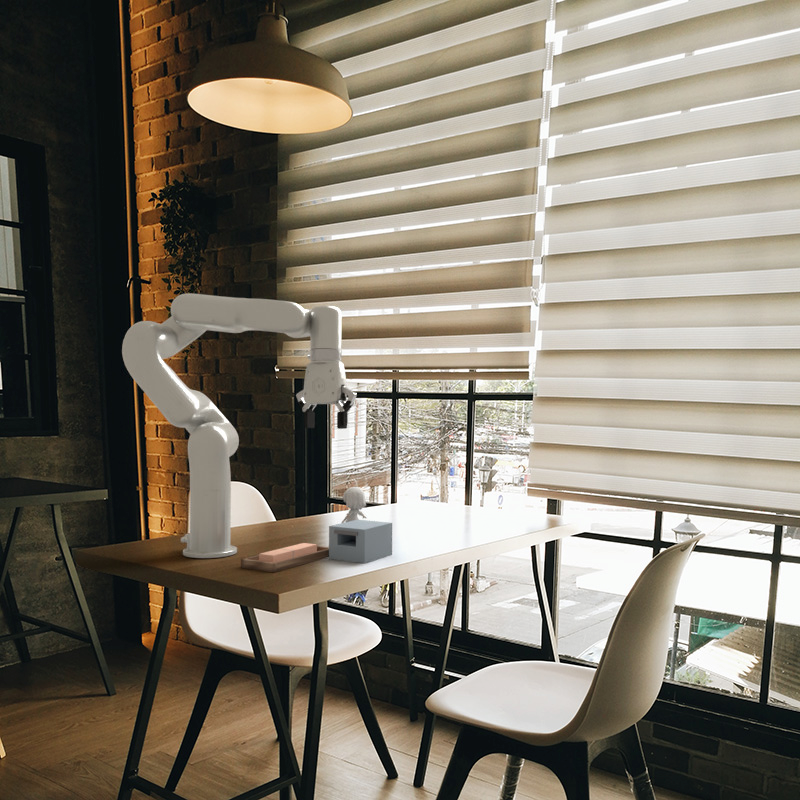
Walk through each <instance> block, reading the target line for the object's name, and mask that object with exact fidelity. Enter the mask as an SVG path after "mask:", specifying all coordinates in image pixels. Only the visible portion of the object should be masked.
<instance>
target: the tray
mask: <svg viewBox="0 0 800 800" xmlns="http://www.w3.org/2000/svg"><path fill="white" fill-rule="evenodd" d="M327 558H329V546H321V545H317V552H313V553H310V554H306V555H302V556H298V557H295V558H291V559H287V560H283V561H280V562H276V563H271V562H264V561H259V554H258V555H253V556H250V557H244V558H241V559H240V569H241V568H242V569H249V570H254V571H260V572H261V571H262V572H270V573H277V572H281V571H284V570H288V569H291V568H295V567H299V566H302V565H305V564H309V563H314V562H316V561H320V560H324V559H327Z"/></svg>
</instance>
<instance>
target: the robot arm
mask: <svg viewBox="0 0 800 800" xmlns="http://www.w3.org/2000/svg"><path fill="white" fill-rule="evenodd" d="M170 315H171V316H170V317H169V318H167V319H166V320H164V321H163V322H162V323H158V322H156V321H151V320H141V321H138V322H136V323H134V324H133V325H131V326H130V328H129V329H128V330H127V332H126V333H125V335H124V338H123V340H122V345H121V346H122V347H121V348H122V349H121V354H122V359H123V362H124V366H125V368H126V370H127V371H128V373H129V375H130V376H131V378H132V379H133V380H134V382H136V384H137V385H138V386H139V387H140V389H141V390H142V391H143V392H144V394H145V395H146V396H147V397H148V399H149V400H150V401H151V402H152V403H153V405H154V406H155V407H156V408H157V409H158V411H159V412H160V413H161V414H162V415H163V417H164V418H165V419H166V420H167V422H168V423H169V424H171V425H172V426H174V427H177V428H180V429H181V428H183V429H184V428H185V430H186V431H187V432H188V433H189V434H190V435H189V438H188V442H187V454H188V455H187V456H188V457H187V458H188V463H189V466H188V467H189V533H185V534H184V536H182V537H181V538H180V543H185V544H186V548H183V550H182V555H183V556H184V557H187V558H192V559H193V558H195V559H212V558H213V559H216V558H223V557H229V556H232V555H236V554H237V553H238V547H237V546H235V545H231V523H232V522H231V517H232V516H231V512H232V511H231V509H232V507H231V505H232V504H231V503H232V500H231V499H232V498H231V497H232V495H231V494H232V493H231V492H232V491H231V490H232V487H231V485H232V484H231V483H232V482H231V480H232V479H231V474H232V473H231V464H230V457H231V456H233V455H234V454H235V453H236V451H237V449H238V448H239V445H240V444H239V442H240V439H239V434H238V432H237V430H236V428H235V427H234V426H233V425H232V423H231V422H230V421H229V420H228V419H227V418H226V416H225V415H224V414H223V413H222V412H221V411H220V409H218V407H217V406H216V405H215V403H214V402H213V401H212V400H211V399H210V398H209V397H208V396H207V395H206V394H205V393H203V392H201V391H198V390H195V389H191V388H189V387H188V386H187V384H185V383H184V381H182V379H181V378H180V377H179V376H178V375H177V373H176V372H175V371H174V370H173V369H172V367H171V366H169V365H168V364H167V362H165V361H164V360H165V359H169V358H172V357H174V356H175V355H176V354H178V353H179V352H181V351H182V350H183V349H185V348H186V347H187V346H189V345H190V344H191V343H193V342H194V341H196V340H197V339H198V338H200V337H201V336H202V335H203V334H204V333H205V332H206V331H213V332H221V333H222V332H223V333H229V334H230V333H232V334H238V333H239V334H240V333H243V332H248V331H260V332H261V331H262V332H270V333H271V332H272V333H281V334H285V335H287V336H288V337H290V338H294V339H300V338H308V337H310V344H309V345H310V353H308V354H307V359H308V360H309V362H308V363H307V365H306V369H305V375H304V381H303V389H302V390H300V391H299V392H297V393H296V395H295V396H296V399H297V402H298V405H299V407H300V408H301V409H302V412H303V413H304V428H305V429H315V427H316V426H315V425H316V422H315V421H316V420H315V419H316V418H315V417H316V413H315V411H314V409H315V408H316V407H317V405H335V406H336V408H337V409H338V410H339V411H337V414H336V416H337V417H336V426H337V427H336V428H337V429H339V430H343V429H345V430H346V429H347V428H348V422H349V421H348V415H349V414H348V413H349V412H350V411H351V408H352V407H353V406H354V404H355V400H356V398H357V396H358V395H357V392H355V391H353V390H351V389H350V388H348V386H347V377H346V371H345V369H346V368H345V364H344V362H342V348H343V347H342V332H343V331H342V329H343V328H342V327H343V326H342V325H343V324H342V310H341V309H340V308H339V307H337V306H335V305H334V306H332V305H318V306H314V307H313V308H312V309H309V308H304V307H303V306H302V305H300V304H298V303H296V302H293V301H289V300H288V301H287V300H279V299H278V300H277V299H269V298H268V299H267V298H246V297H233V296H219V295H209V294H202V293H182V294H179V295H177V296H176V297H175V298H174V299H173V300H172V302H171V305H170Z"/></svg>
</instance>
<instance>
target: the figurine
mask: <svg viewBox="0 0 800 800" xmlns="http://www.w3.org/2000/svg"><path fill="white" fill-rule="evenodd" d="M342 498H343V502H344V503H345V504H346V505H345V506H346V508H345V510H347V509H349V510H348V512H347V513H346V515H345V517H344V519H343V520H342V521H341V522H340V524H341V523H345V522H350V521H354V520H360V519H359V517H358V515H359V516H361V517H362V519H367V517H366V516H365V514H364V513H363V511H362V509H363V508H365V507H367V503H366V495H365V492H364V490H363V489H362V488H360V487H358V486H352V487H349V488H347V489H346V490H345V491H344V492H343V494H342Z"/></svg>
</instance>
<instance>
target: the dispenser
mask: <svg viewBox="0 0 800 800" xmlns="http://www.w3.org/2000/svg"><path fill="white" fill-rule="evenodd" d="M328 547H329V557H328V559H329V560H336V561H344V562H350V563H351V562H352V563H360V564H367V563H370V562H374V561H377V560H380V559H382V558H383V559H384V558H385V557H388V556H392V555H393V522H389V521H387V522H386V521H375V520H364V519H359V520H354V521H350V522H344V523H341V522H340V523H337V524H331V525H329V526H328Z"/></svg>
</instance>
